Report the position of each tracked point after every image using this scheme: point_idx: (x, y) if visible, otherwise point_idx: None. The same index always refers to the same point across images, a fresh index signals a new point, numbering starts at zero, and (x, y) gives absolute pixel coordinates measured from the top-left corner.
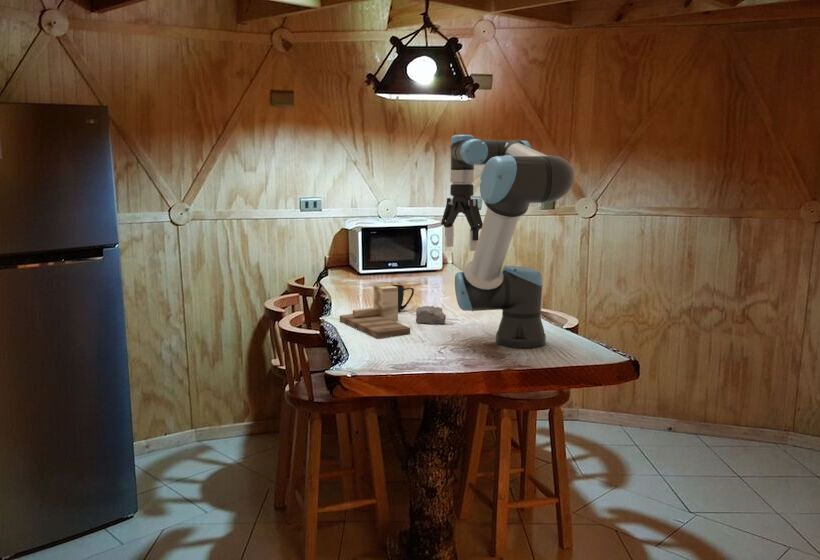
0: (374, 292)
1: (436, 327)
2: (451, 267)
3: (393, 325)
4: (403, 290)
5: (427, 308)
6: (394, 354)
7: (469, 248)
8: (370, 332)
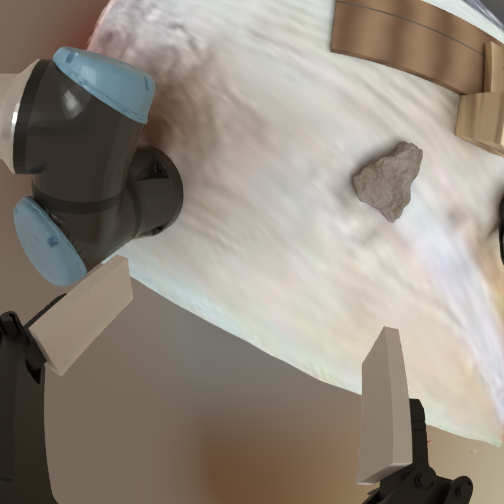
0: None
1: (340, 142)
2: (497, 445)
3: (378, 38)
4: None
5: (399, 168)
6: None
7: (118, 265)
8: None
